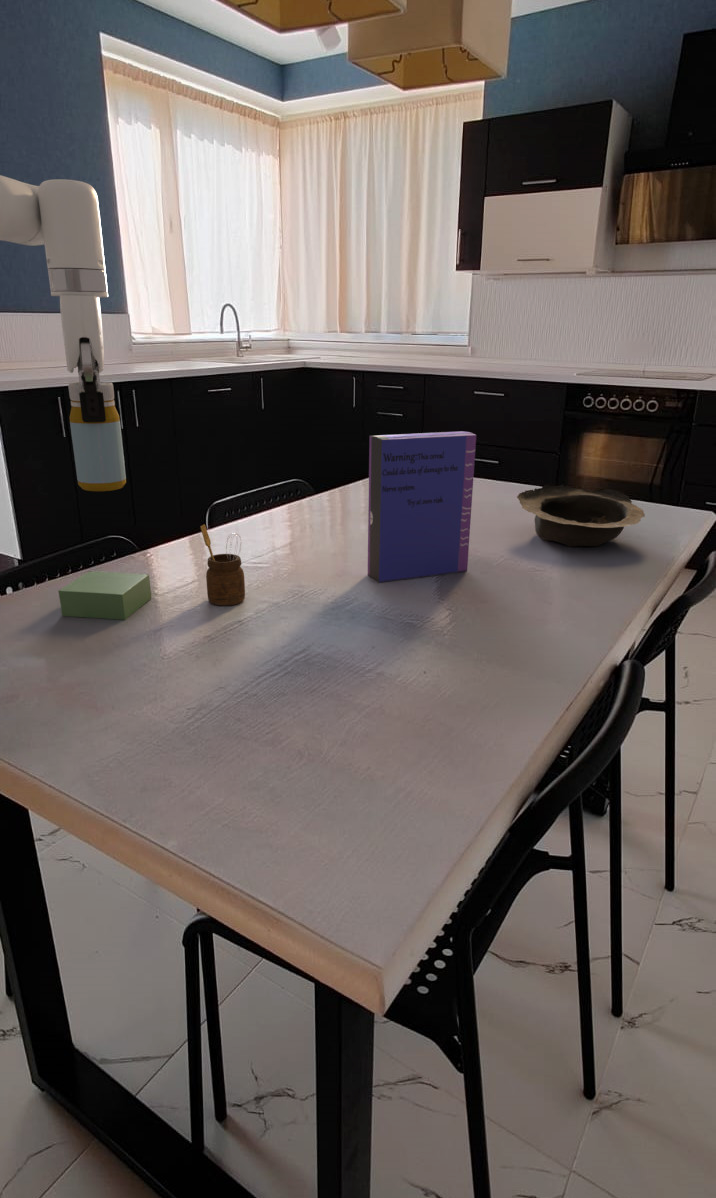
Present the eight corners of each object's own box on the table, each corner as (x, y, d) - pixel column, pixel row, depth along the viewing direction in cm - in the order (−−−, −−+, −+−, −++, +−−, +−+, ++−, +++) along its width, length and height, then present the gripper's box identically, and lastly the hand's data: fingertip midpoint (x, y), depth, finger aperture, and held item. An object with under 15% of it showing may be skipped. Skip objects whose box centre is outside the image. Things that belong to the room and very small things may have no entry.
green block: (62, 616, 115) (58, 590, 114) (92, 594, 124) (89, 571, 123) (125, 620, 114) (122, 594, 112) (151, 598, 123) (149, 574, 122)
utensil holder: (238, 608, 119) (234, 532, 114) (200, 605, 120) (194, 529, 116) (250, 596, 125) (247, 522, 120) (214, 593, 126) (209, 520, 121)
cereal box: (453, 564, 142) (461, 430, 132) (467, 571, 138) (476, 433, 128) (367, 574, 136) (369, 434, 126) (378, 582, 131) (381, 438, 122)
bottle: (121, 481, 122) (110, 381, 116) (131, 489, 116) (120, 384, 110) (75, 485, 119) (61, 382, 113) (82, 493, 113) (68, 385, 107)
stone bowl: (554, 517, 176) (561, 476, 172) (657, 546, 161) (668, 502, 157) (491, 534, 160) (498, 490, 156) (600, 568, 144) (611, 520, 140)
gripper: (52, 286, 113) (69, 413, 120) (46, 281, 98) (65, 426, 105) (106, 288, 115) (119, 412, 122) (108, 283, 100) (122, 425, 107)
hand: (94, 417), depth 113 cm, fingers closed on bottle, 7 cm apart
